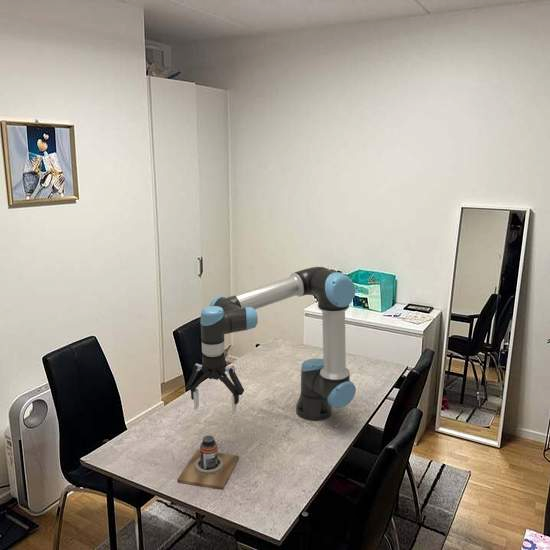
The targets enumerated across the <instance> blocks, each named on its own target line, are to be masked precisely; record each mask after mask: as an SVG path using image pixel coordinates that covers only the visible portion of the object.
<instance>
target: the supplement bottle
mask: <svg viewBox="0 0 550 550" xmlns="http://www.w3.org/2000/svg"><path fill="white" fill-rule="evenodd" d="M199 450H200V461H201V462H200V463H201V468H202V469H204V470H212V469H215V468H217V466H218V453H219V452H218V443H217V442H216V440H215V437H214V436H213V435H205V436H203V437H202V442H200V445H199Z"/></svg>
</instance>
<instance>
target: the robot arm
mask: <svg viewBox="0 0 550 550" xmlns="http://www.w3.org/2000/svg"><path fill="white" fill-rule="evenodd" d="M296 296H297V297H298V298H300V297H303V296H314V297H316V298H317V302H318V303H317V308H318V309H319V310H320V311H321V312H322V313H321V314H322V318H321V319H322V347H323V348H322V355H323V358H310V359H306V360H304V361H303V362H302V363H301V367H300V368H301V369H300V395H299V398H298V399H297V402H296V406H295V412H296V414H297V415H298V416H299V417H300V418H302V419H304V420H307V421H308V420H309V421H323V420H326V419H328V418H330V417H331V416H332V414H333V413H332V411H333V408H336V409H342V408H344V407H346V406H348V405H349V404H350V403H351V402H352V401H353V399H354V398H355V395H356V391H357V389H356V386H355V384H354V382H352V381H351V379H350V378H351V376H350V374H351V373H350V370H349V368H348V367H346V363H347V361H346V354H347V353H346V311H347V310H348V309H349V308H350V305H351V303H352V302H353V299H354V298H355V296H356V286H355V283H354V281H353V280H352V278H350V276H347V275H345V273H343V272H339V271H334V270H332V269H329V268H327V267H324V266H312V267H309V268H305V269H302V270H298V271H295V272H291V274H290V275H289V276H288V277H285V278H283V279H279V280H277V281H273V282H270V283H267V284H264V285H262V286H261V285H260V286H258V287H255V288H253V289H249V290H246V291H243V292H241V293H238V294H234V295H232V296H228V297H224V296H215V297H214V298H212V300H211V301H210V303H209V305H208V306H206V307H203V309H201V311H200V322H199V323H200V330H201V331H200V333H201V335H200V336H201V352H202V355H201V362H202V364H200V363H199V362H196V363H195V364H194V365H193V369H192V373H191V375H190V377H189V378H188V379H189V380H188V381H187V384H186V385H185V390H189V391H190V398H191V400H193V410H195V411H197V410H198V408H199V407H200V399H199V389H198V387H199V386H200V385H201V384H202V382H204V381H205V379H206V378H208V380H219V381H220V382H221V383H223V384H224V386H225V387H226V388H227V389H228V390H229V391H230V393H231V394H232V395H231V414H232V415H235V413H236V412H237V405H238V404H239V402H240V396H242V395H243V394H244V392H245V389H244V387H243V385H242V383H241V381H240V379H239V377H238V375H237V373H236V370H235V366H233V365H231V366H230V367H229V366H228V367H227V366H226V358H225V357H226V356H225V354H226V353H225V335H227V334H233V333H238V332H244V331H248V330H251V329H254V328H256V327H257V325H258V323H259V322H258V321H259V320H258V319H259V318H258V313H257V311H256V310H258V309H260V308H264V307H266V306H269V305H272V304H275V303H278V302H281V301H283V300H287V299H290V298H292V297H296ZM200 371H202V372H203V375H202V376H200V378H199V379H198V380H197V381H196V382H195V383H194V380H195V378H196V376H197V375H198V373H199V372H200ZM226 373H227V374H228V375H229V377H230V378H229V377H228V375H227V374H226ZM193 383H194V384H193ZM332 407H333V408H332Z"/></svg>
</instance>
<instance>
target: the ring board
mask: <svg viewBox="0 0 550 550" xmlns="http://www.w3.org/2000/svg"><path fill="white" fill-rule="evenodd" d="M239 459H240V456H239V455H237V454H228V453H223V452H222V453H221V452H218V466H217V468H215V469H212V470H204V469H202V468H201V463H200V462H201V461H200V449H196V451H195V452H194V454H193V455H192V457H191V458H190V460H189V461H188V463H187V464H186V466H185V468H184V469H183V470H182V472H181V473H180V475H179V476H178V477H177V479H176V481H177V483H181V484H184V485H185V484H186V485H192V486H198V487H205V488H210V489H216V490H222V491H223V490H224V488H225V486H226V484H227V483H228V481H229V480H230V478H231V475H232V473H233V471H234V469H235V467H236V465H237V463H238V461H239Z"/></svg>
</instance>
